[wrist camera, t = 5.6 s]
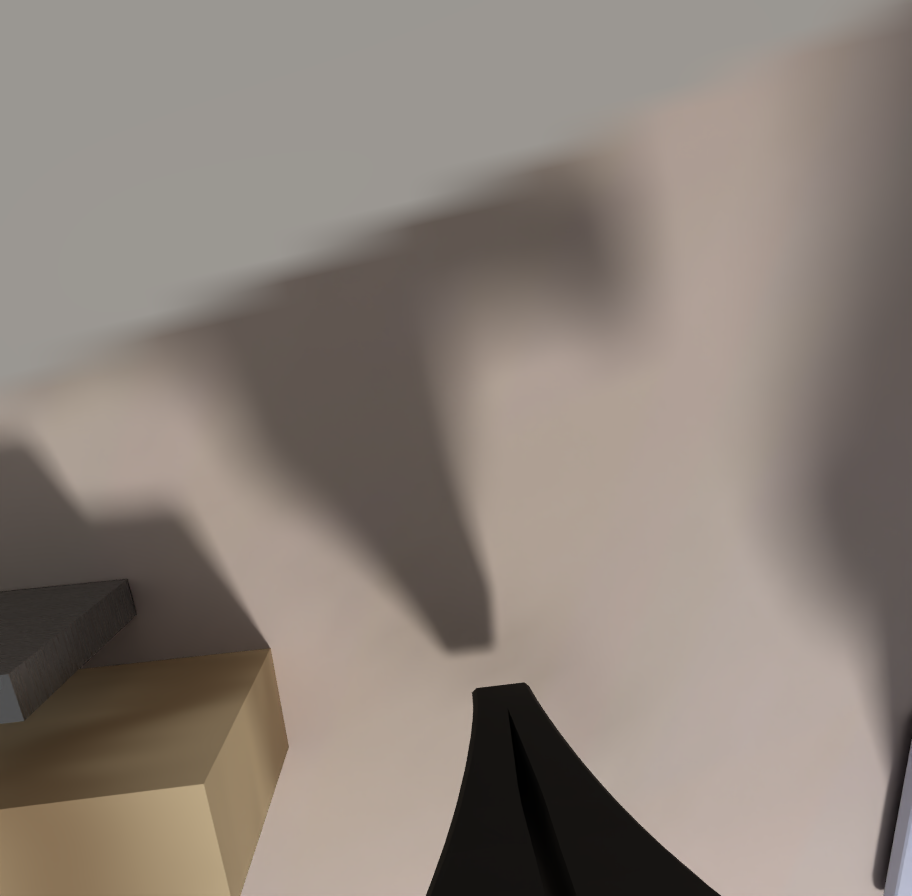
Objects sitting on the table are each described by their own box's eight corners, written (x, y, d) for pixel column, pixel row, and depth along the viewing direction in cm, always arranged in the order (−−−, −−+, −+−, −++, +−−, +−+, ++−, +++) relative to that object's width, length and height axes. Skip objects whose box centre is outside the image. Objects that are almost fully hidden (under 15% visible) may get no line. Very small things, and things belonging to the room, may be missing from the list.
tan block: (271, 645, 12) (204, 783, 8) (289, 743, 13) (234, 912, 9) (38, 670, 12) (-144, 827, 8) (70, 770, 13) (-84, 957, 9)
